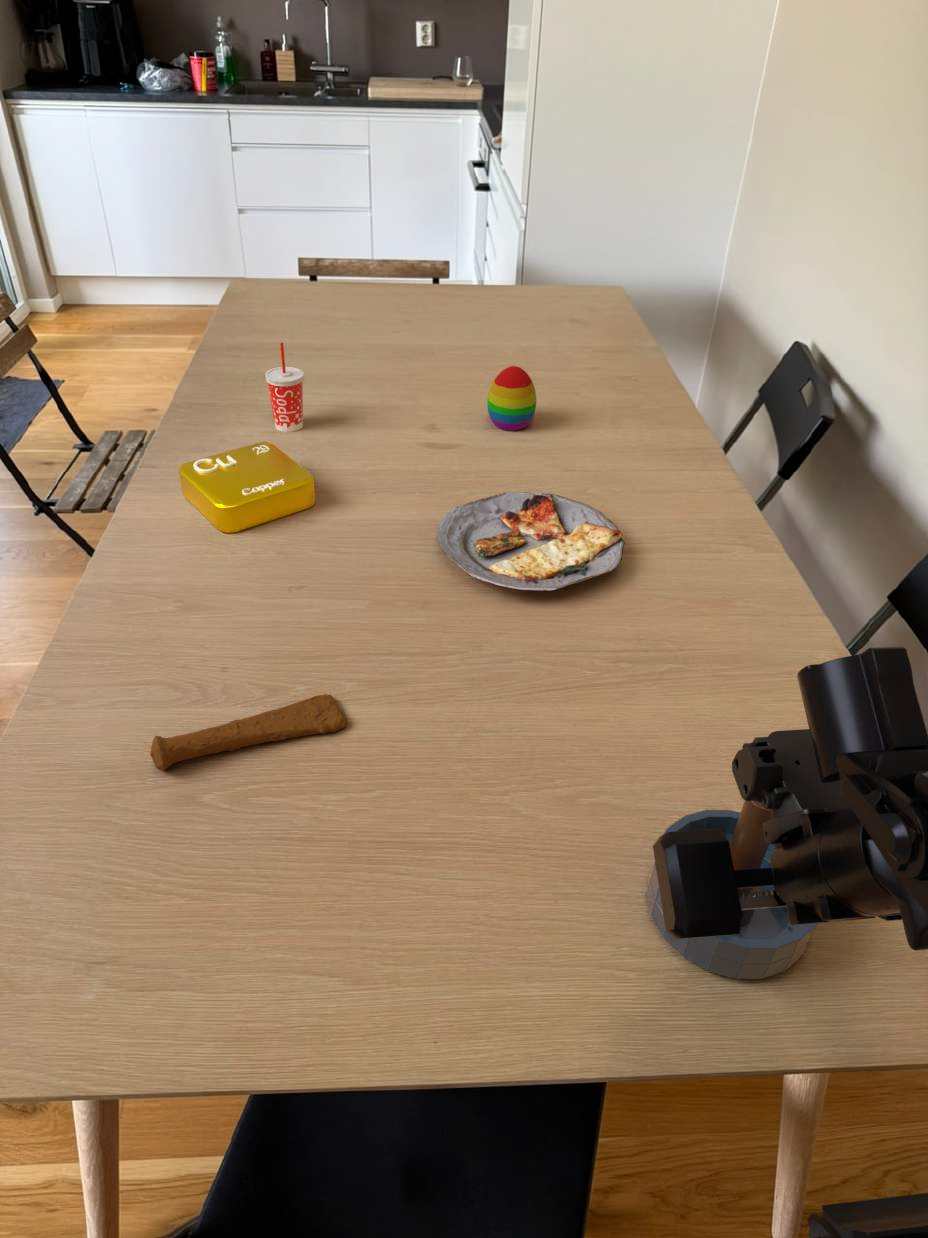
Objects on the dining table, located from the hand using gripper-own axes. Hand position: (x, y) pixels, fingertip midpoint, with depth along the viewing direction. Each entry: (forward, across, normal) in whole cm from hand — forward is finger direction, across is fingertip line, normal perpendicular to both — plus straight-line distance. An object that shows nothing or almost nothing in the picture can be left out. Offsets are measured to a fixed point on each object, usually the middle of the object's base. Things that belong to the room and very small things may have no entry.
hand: (756, 888), depth 63 cm
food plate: (+44, +4, -48) cm, 65 cm away
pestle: (+14, -3, 0) cm, 15 cm away
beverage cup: (+63, +38, -82) cm, 111 cm away
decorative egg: (+63, +1, -82) cm, 103 cm away
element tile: (+52, +43, -62) cm, 91 cm away
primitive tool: (+27, +38, -20) cm, 51 cm away
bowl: (+15, -3, +1) cm, 15 cm away
